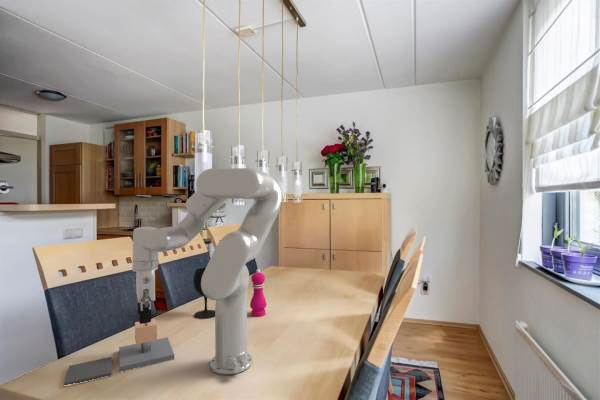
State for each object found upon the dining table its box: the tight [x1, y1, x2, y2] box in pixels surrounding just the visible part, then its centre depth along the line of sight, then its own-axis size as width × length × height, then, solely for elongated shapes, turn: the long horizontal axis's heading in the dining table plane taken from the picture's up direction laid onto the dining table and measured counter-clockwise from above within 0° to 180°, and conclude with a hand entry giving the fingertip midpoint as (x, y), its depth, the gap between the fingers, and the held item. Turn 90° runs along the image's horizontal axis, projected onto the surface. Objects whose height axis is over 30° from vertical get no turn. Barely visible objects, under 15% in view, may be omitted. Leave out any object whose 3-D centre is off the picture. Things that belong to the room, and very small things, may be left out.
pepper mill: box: [249, 268, 267, 318], centre depth 139 cm, size 7×7×20 cm
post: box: [141, 342, 151, 353], centre depth 102 cm, size 3×3×8 cm
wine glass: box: [192, 267, 215, 320], centre depth 139 cm, size 10×10×20 cm
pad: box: [63, 356, 113, 386], centre depth 92 cm, size 11×11×1 cm
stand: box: [118, 337, 175, 372], centre depth 102 cm, size 15×15×2 cm
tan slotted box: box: [134, 318, 158, 345], centre depth 102 cm, size 6×6×5 cm
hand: (144, 317), depth 102 cm, fingers open, 9 cm apart
